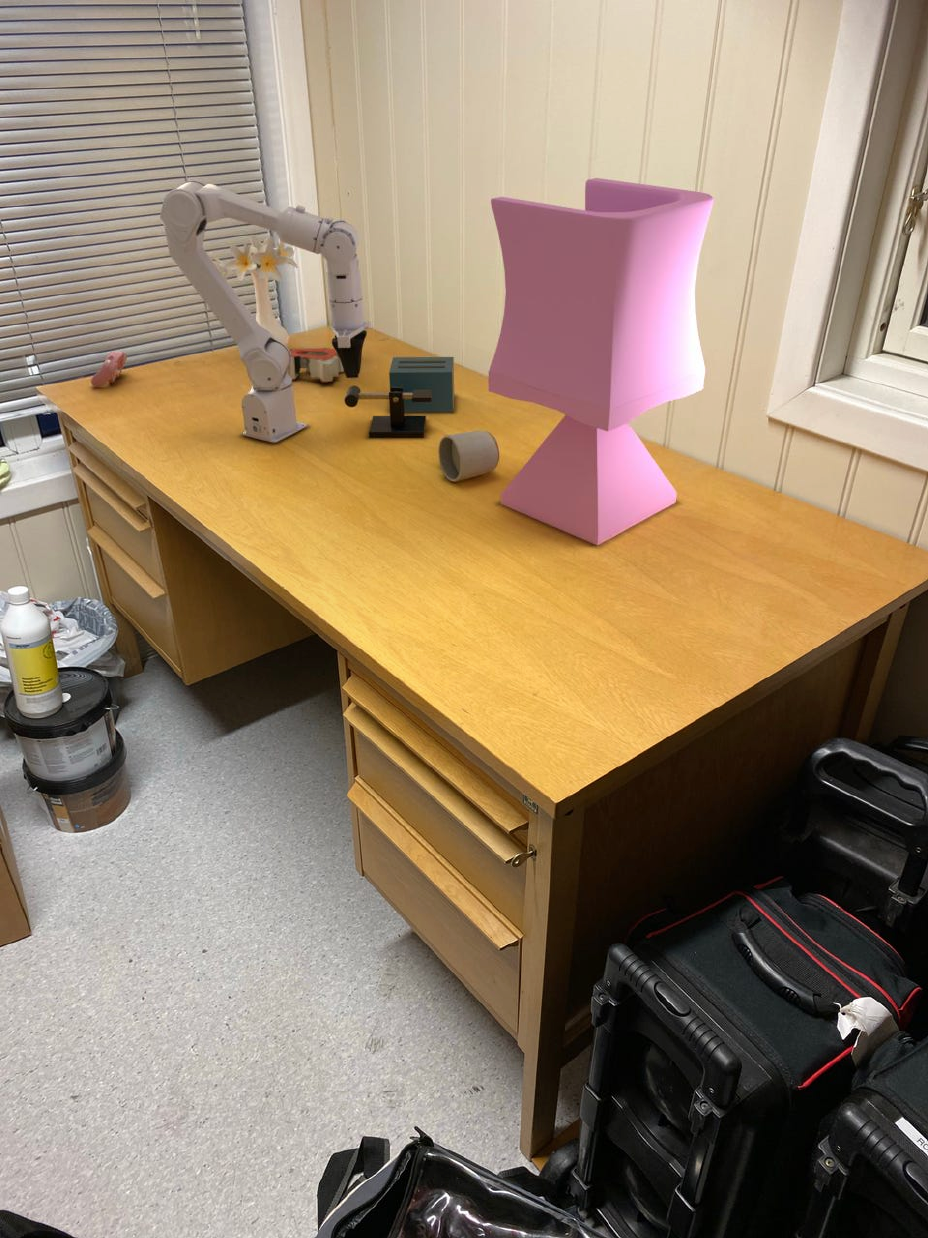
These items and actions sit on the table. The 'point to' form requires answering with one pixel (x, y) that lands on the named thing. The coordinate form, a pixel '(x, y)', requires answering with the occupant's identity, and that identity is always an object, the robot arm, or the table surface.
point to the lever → (384, 396)
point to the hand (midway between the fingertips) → (353, 375)
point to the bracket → (397, 420)
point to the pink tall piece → (598, 344)
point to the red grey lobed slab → (315, 363)
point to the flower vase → (261, 276)
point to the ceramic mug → (468, 454)
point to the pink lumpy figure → (110, 369)
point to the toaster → (425, 381)
